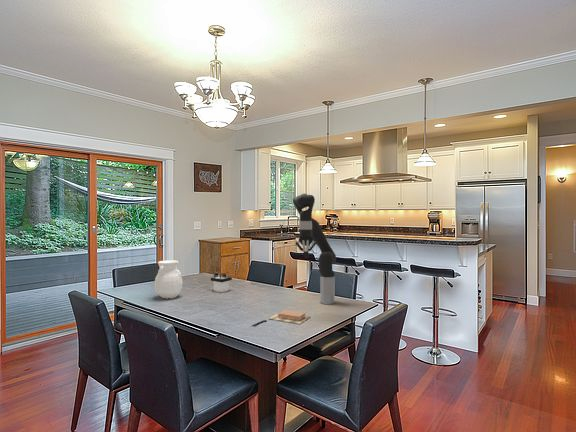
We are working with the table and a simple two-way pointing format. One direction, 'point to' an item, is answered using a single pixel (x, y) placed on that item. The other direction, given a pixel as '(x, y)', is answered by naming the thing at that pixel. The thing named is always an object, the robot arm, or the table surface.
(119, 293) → the table surface
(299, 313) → the tile
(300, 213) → the robot arm
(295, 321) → the board
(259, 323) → the kitchen knife
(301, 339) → the table surface
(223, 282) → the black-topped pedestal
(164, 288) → the white vase
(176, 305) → the table surface
